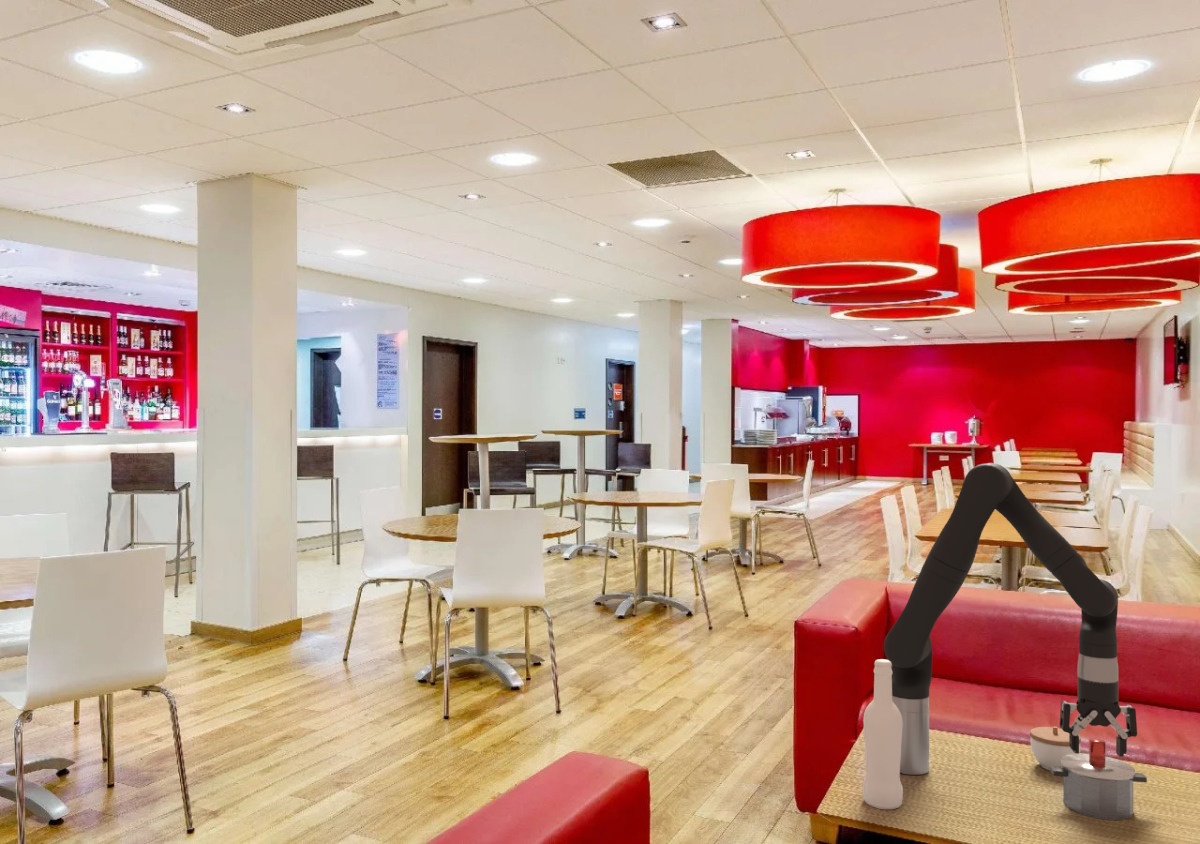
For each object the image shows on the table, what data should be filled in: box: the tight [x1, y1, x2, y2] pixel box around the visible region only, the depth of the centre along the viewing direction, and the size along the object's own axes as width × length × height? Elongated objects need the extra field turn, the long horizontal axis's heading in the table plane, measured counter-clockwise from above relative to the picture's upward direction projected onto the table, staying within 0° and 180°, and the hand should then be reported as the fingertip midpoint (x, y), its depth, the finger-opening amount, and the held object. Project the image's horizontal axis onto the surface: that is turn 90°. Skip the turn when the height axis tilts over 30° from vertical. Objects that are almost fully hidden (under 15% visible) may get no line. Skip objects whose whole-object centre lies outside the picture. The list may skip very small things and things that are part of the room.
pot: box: [1049, 767, 1148, 821], centre depth 192 cm, size 18×12×8 cm
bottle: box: [862, 658, 904, 810], centre depth 193 cm, size 8×8×30 cm
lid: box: [1061, 738, 1136, 781], centre depth 192 cm, size 14×14×7 cm
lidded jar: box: [1029, 726, 1082, 771], centre depth 215 cm, size 11×11×9 cm
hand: (1097, 753), depth 192 cm, fingers open, 8 cm apart
